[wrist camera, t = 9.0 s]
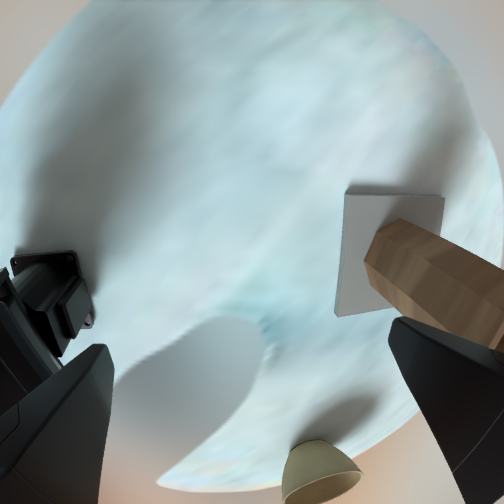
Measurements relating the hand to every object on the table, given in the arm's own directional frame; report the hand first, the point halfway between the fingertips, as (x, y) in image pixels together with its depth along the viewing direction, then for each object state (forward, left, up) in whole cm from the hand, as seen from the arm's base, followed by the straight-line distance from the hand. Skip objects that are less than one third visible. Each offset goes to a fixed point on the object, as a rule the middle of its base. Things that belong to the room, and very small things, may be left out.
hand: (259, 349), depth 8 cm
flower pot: (+9, -30, -13) cm, 34 cm away
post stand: (+14, -3, -13) cm, 19 cm away
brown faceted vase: (+14, -3, -12) cm, 19 cm away
